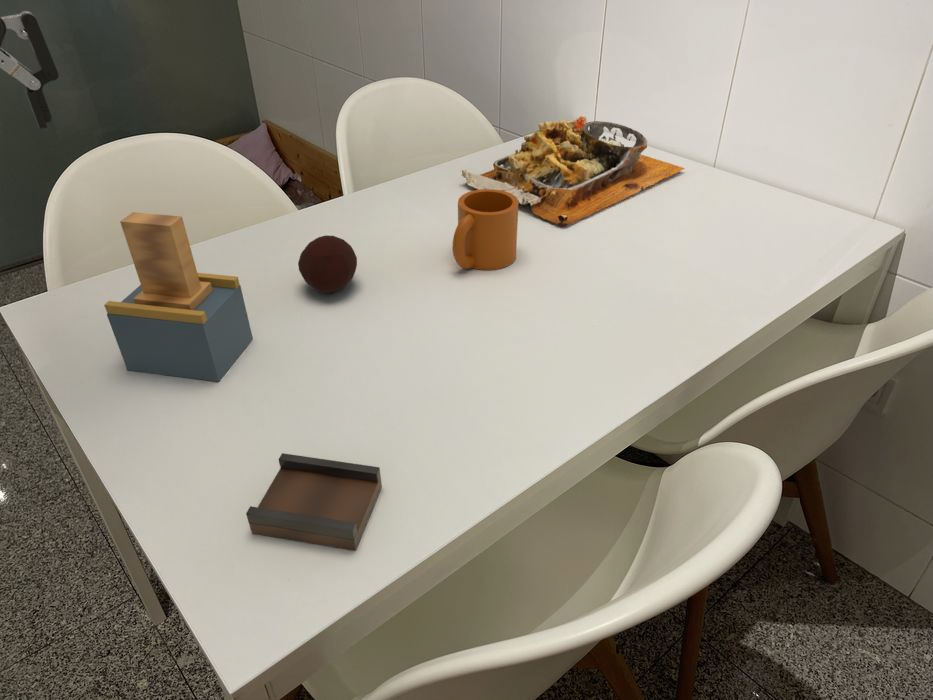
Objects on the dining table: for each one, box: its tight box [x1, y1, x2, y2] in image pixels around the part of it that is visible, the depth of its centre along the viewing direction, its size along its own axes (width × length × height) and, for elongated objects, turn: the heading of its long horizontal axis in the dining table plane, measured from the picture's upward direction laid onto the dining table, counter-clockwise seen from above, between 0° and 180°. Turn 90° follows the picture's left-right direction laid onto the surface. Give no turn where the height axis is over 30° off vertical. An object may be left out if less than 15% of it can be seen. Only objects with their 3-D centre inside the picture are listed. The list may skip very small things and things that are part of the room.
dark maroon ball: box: [297, 235, 358, 294], centre depth 97 cm, size 8×9×8 cm
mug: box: [452, 189, 520, 271], centre depth 102 cm, size 9×12×9 cm
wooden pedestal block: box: [119, 211, 213, 310], centre depth 79 cm, size 7×5×10 cm
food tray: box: [461, 115, 687, 227], centre depth 127 cm, size 35×26×11 cm
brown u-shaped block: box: [245, 452, 383, 551], centre depth 65 cm, size 10×8×3 cm
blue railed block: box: [104, 272, 254, 383], centre depth 84 cm, size 12×9×9 cm
